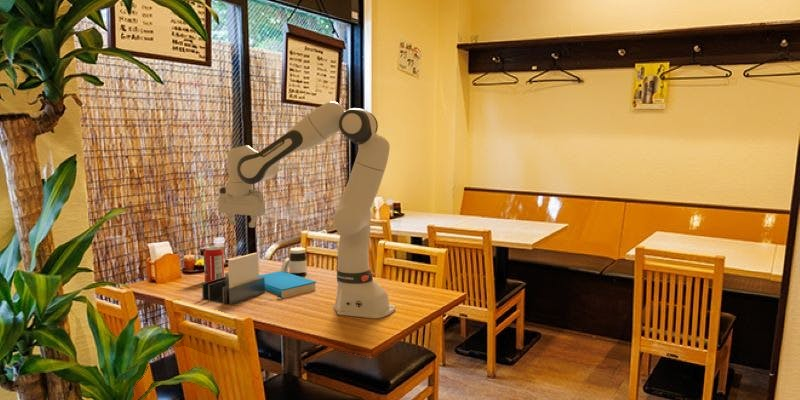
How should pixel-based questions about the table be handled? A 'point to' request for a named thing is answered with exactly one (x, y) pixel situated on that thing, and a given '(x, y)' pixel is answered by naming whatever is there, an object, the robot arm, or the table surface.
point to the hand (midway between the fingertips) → (242, 226)
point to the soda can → (213, 263)
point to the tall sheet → (243, 269)
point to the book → (287, 284)
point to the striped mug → (296, 262)
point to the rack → (231, 290)
